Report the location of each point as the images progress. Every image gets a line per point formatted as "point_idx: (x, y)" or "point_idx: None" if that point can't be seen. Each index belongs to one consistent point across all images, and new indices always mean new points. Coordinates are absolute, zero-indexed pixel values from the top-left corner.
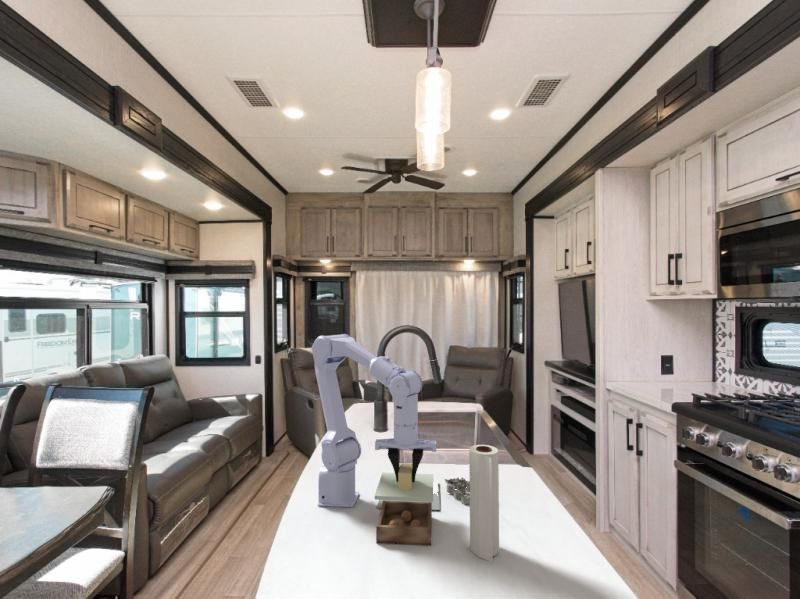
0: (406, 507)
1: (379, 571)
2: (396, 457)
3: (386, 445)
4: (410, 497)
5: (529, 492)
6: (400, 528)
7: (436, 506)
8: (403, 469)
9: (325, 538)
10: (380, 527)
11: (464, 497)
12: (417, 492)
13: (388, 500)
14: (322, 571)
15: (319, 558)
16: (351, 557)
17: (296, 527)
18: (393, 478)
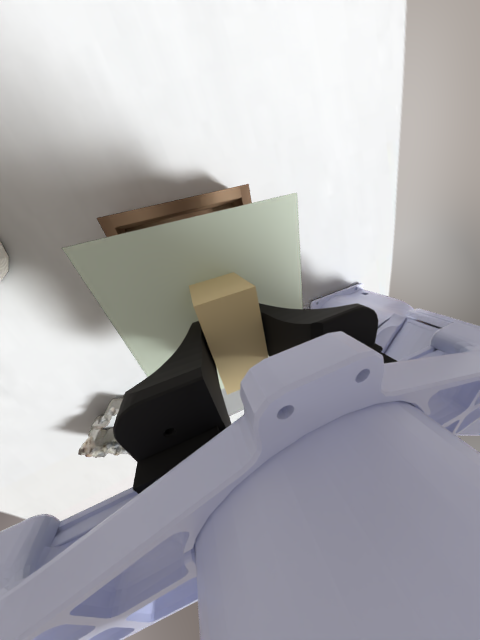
0: None
1: (183, 52)
2: (311, 321)
3: (456, 359)
4: (165, 224)
5: (20, 490)
6: (186, 198)
7: None
8: (245, 332)
9: (331, 182)
10: (237, 187)
11: None
12: (158, 276)
13: None
14: (309, 26)
15: (326, 93)
16: (267, 114)
17: (380, 206)
18: None
